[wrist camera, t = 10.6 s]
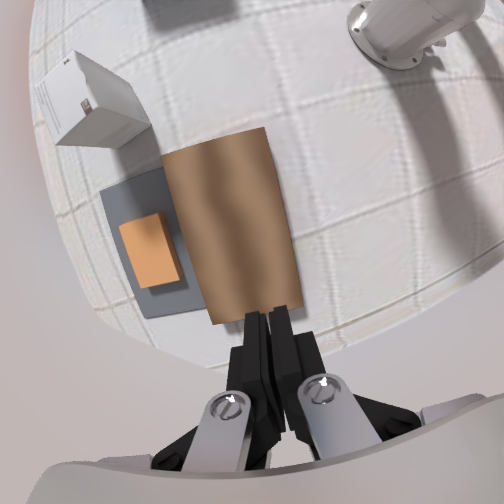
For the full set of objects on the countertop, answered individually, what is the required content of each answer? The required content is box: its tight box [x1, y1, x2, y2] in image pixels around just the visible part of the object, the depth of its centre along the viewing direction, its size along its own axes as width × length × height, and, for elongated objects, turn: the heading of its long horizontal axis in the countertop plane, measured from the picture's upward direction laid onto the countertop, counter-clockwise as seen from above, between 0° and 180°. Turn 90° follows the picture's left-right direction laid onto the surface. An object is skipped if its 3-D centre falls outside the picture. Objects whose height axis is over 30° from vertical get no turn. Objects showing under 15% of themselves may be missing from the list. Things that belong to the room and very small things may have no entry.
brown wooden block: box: [161, 127, 304, 325], centre depth 33 cm, size 12×22×4 cm, turn 14°
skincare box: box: [34, 50, 151, 149], centre depth 23 cm, size 8×6×15 cm
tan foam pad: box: [119, 211, 183, 288], centre depth 34 cm, size 9×6×2 cm, turn 14°
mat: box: [100, 167, 206, 318], centre depth 36 cm, size 11×20×1 cm, turn 14°
